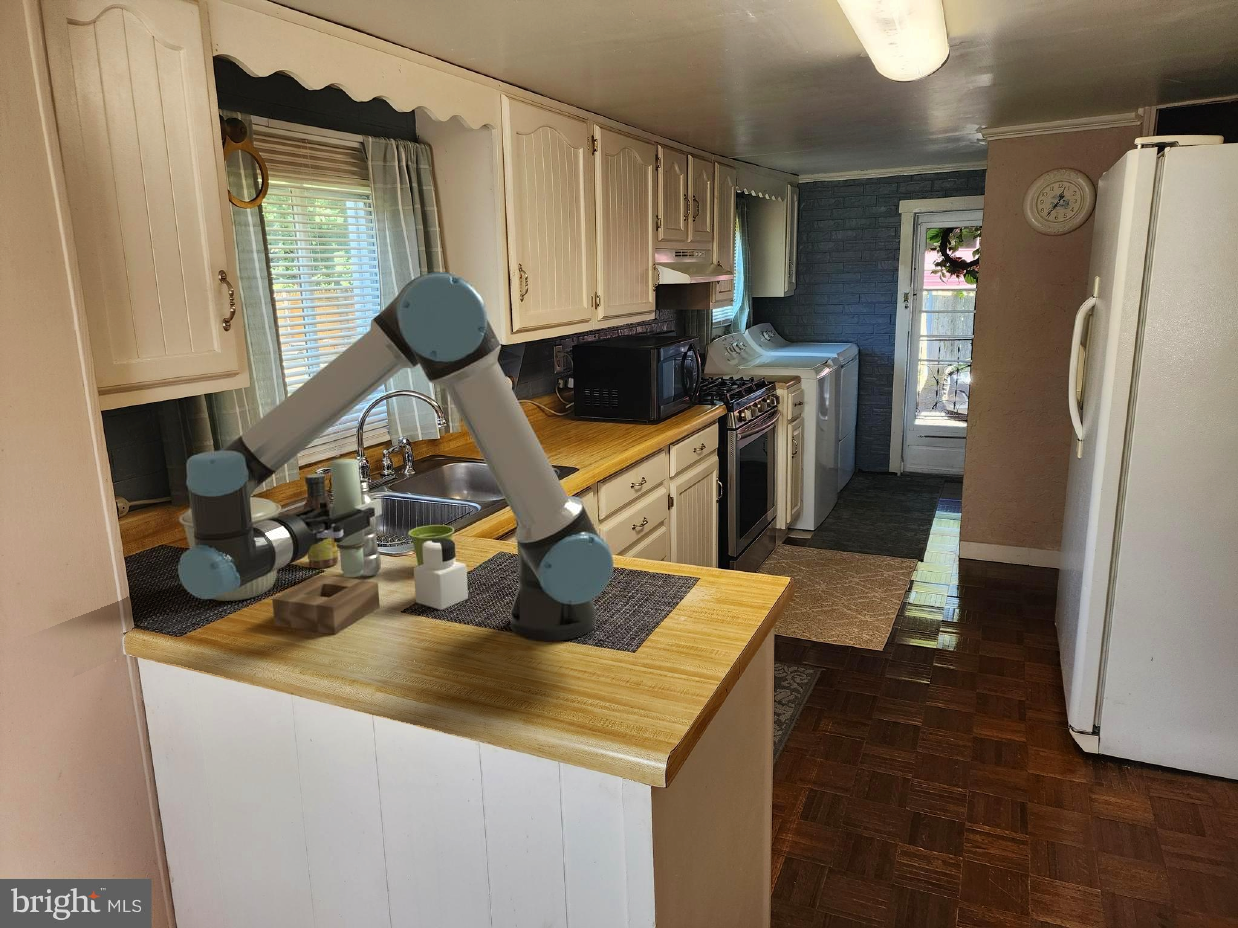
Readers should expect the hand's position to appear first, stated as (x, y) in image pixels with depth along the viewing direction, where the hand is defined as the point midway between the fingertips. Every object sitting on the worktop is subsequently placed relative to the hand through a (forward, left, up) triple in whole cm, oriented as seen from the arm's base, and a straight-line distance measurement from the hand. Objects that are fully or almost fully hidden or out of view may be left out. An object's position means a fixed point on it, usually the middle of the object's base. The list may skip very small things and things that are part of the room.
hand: (366, 505), depth 149 cm
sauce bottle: (+29, -22, -21) cm, 42 cm away
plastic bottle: (+16, -19, -21) cm, 33 cm away
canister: (+34, -3, -21) cm, 40 cm away
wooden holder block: (+9, +2, -21) cm, 23 cm away
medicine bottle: (-7, -11, -21) cm, 25 cm away
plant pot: (+4, -26, -21) cm, 34 cm away
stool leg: (0, +5, -11) cm, 12 cm away
